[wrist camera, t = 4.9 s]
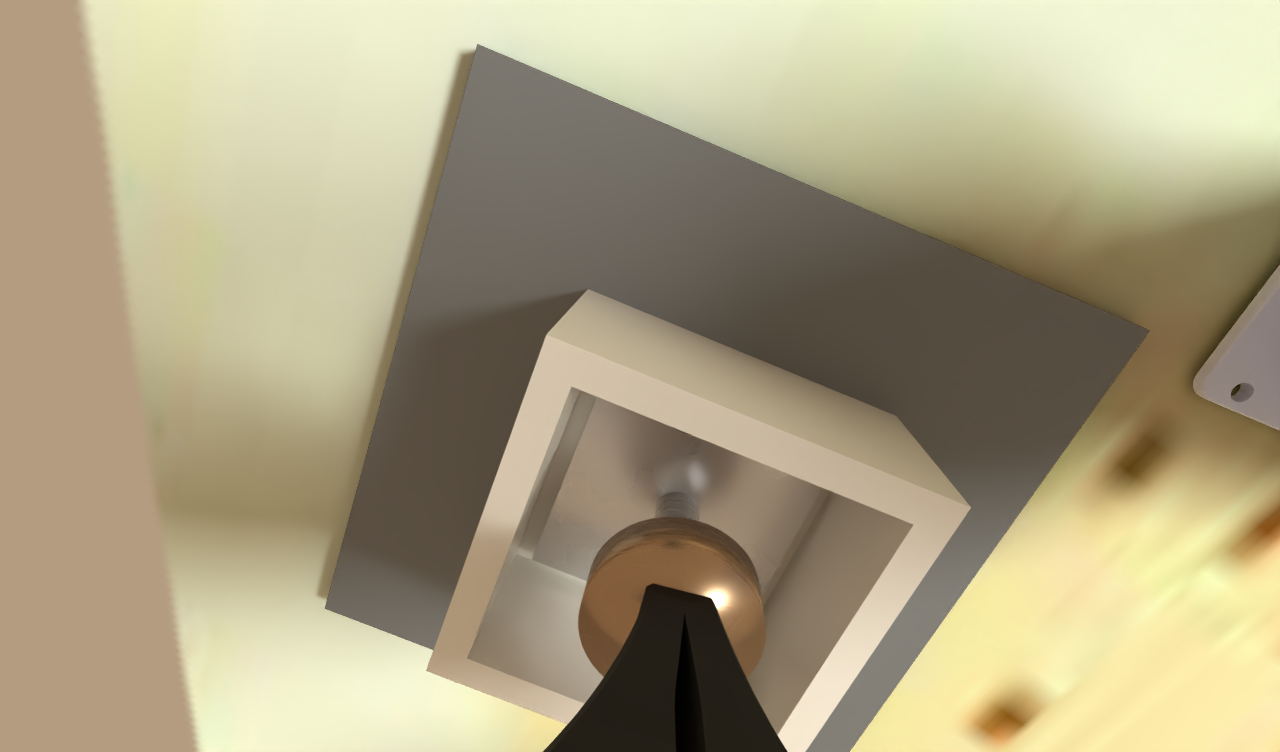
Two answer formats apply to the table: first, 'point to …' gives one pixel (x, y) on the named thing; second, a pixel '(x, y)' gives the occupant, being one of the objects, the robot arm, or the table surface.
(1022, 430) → the mat
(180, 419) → the table surface
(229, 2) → the table surface
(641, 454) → the plunger
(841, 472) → the press
